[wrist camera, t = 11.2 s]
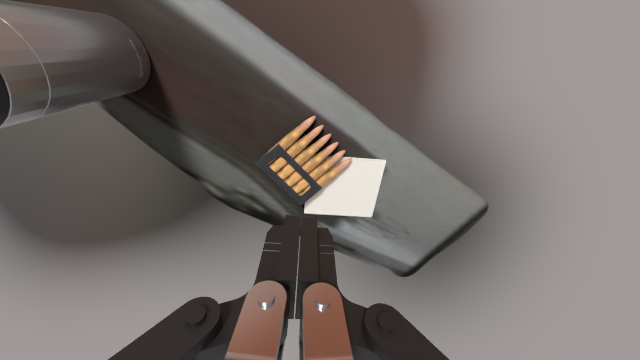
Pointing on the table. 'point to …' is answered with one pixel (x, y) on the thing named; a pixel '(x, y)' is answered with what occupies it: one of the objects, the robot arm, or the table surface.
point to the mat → (349, 189)
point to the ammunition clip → (302, 163)
